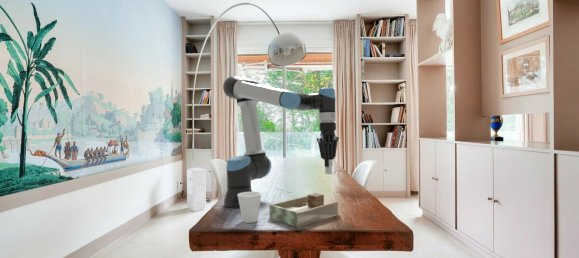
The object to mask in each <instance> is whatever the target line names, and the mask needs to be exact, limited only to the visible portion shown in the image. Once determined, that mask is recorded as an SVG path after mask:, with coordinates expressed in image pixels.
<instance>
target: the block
mask: <svg viewBox="0 0 579 258" xmlns="http://www.w3.org/2000/svg"><path fill="white" fill-rule="evenodd" d="M307 196H308V206H310V207H313V208H315V207H319V206H323V205H325V195H324V194H321V193H317V192H314V193H309V194H307Z"/></svg>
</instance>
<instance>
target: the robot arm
mask: <svg viewBox="0 0 579 258" xmlns="http://www.w3.org/2000/svg"><path fill="white" fill-rule="evenodd" d="M222 90H223V93H224V94H225V96H226V97H228V98H230V99H234V100H236V105H237V106H239V108H240V109H239V110H240V115H241V123H242V132H243V139H244V145H245V153H244V154H243V155H239V156H232V157H229V158H228V159H227V161H226V187H227V188H226V192H225V196H224V199H223V206H224V207H226V208H231V209H240V204H239V200H238V196H237V194H239V193H242V192H253V189H252V181H255V180H258V179H262V178H265V177H266V176H268V175H269V174H270V172H271V171H272V170H271V169H272V161H271V159H270V158H269V157H268V156H266V155H267V154H266V151H265V150H264V149H263V147H262V146H263V145H262V139H261V132H260V123H259V116H258V108H257V105H258V103H259V102H260V103H264V104H270V105H274V106H279V107H282V108H284V109H287V110H297V111H313V110H314V111H315V110H318V112H319V113H318V121H319V124H318V125H319V128H318V130H319V131H320V136H319V137H316V141H317V143H318V149H319V154H320V155H319V156H320V159H322V160H324V167H325V170H324V171H325V174H326V175H333V160H335V158H336V155H337V148H338V143H339V142H338V141H339V139H340V137H339V136H336V132H335V131H336V130H337V123H336V120H337V119H336V100H337V99H336V98H337V97H336V90H335V89H334V88H333V87H322V88H318V91H317V93H301V92H296V91H292V90H291V91H290V90H286V89H283V88H281V89H280V88H278V87H277V88H275V87H270V86H267V85H260V83H259V82H258V81H257V80H256V79H253V78H250V77H243V76H237V75H232V76H230V77H227V78H226V79H225V80H224V81H223V85H222Z"/></svg>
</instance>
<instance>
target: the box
mask: <svg viewBox="0 0 579 258" xmlns="http://www.w3.org/2000/svg"><path fill="white" fill-rule="evenodd" d="M268 206H269V207H268V208H269V219H272V220H275V221H278V222H282V223H284V224H287V225H291V226H293V227H295V228H301V227H304V226H308V225H311V224H314V223H317V222H320V221H323V220H326V219H329V218H333V217H335V216H338V215H339V203H338V201H334V202H332V203H331V202H330V203H327V204H324V205H323V206H319V207H315V208H313V207H310V206H308V195H305V196H299V197H298V198H297V197H296V198H292V199H289V200H283V201H280V202H279V201H278V202H275V203H272V204H271V203H270V204H269V205H268Z"/></svg>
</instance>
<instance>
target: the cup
mask: <svg viewBox="0 0 579 258" xmlns="http://www.w3.org/2000/svg"><path fill="white" fill-rule="evenodd" d="M237 196H238V200H239V204H240V208H239V209H240V210H239V211H240V215H241V220H242V222H243V223H245V224H253V223H256V222H257V221H258V219H259V211H260V205H261V198H262V193H261V192H260V191H252V192H242V193H239V194H237Z"/></svg>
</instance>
